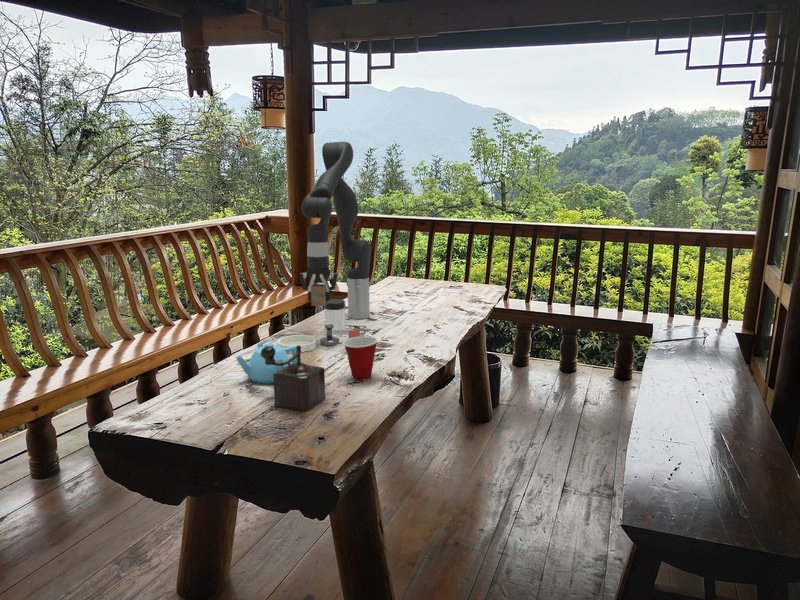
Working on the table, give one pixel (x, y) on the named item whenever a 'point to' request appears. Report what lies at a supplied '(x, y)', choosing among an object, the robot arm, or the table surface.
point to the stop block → (318, 295)
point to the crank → (351, 333)
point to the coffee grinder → (296, 382)
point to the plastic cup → (361, 356)
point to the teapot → (258, 367)
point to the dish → (298, 342)
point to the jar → (335, 314)
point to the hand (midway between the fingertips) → (319, 301)
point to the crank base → (329, 337)
